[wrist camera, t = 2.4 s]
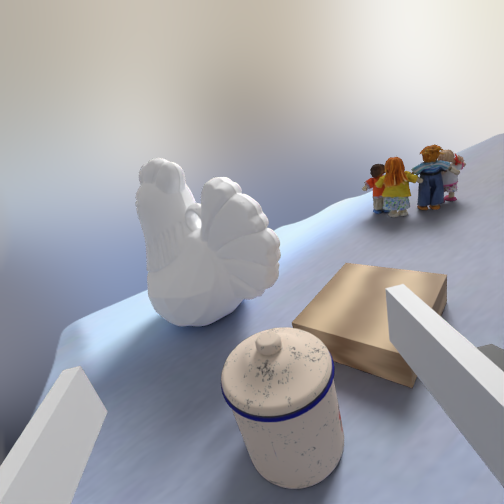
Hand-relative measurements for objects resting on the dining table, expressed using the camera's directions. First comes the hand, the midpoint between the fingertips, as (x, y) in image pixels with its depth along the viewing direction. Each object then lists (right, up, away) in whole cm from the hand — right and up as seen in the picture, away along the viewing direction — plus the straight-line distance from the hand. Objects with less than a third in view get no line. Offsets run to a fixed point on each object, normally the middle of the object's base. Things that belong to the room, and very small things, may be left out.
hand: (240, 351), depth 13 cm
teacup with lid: (+4, -13, +16) cm, 21 cm away
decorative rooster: (-4, -6, +36) cm, 37 cm away
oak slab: (+16, -5, +26) cm, 30 cm away
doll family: (+37, +13, +55) cm, 67 cm away
